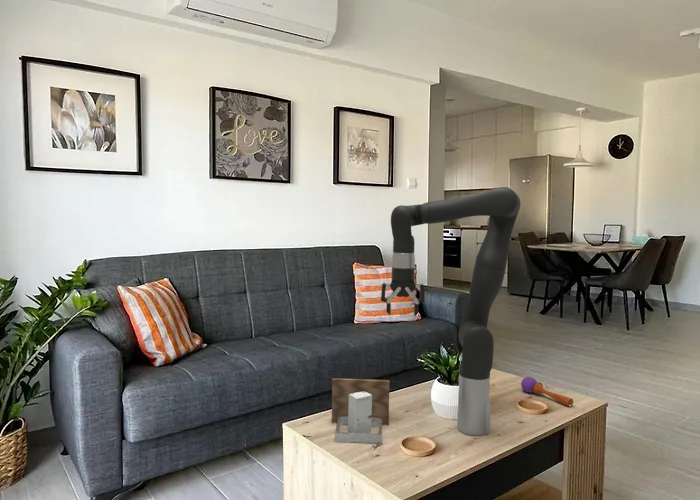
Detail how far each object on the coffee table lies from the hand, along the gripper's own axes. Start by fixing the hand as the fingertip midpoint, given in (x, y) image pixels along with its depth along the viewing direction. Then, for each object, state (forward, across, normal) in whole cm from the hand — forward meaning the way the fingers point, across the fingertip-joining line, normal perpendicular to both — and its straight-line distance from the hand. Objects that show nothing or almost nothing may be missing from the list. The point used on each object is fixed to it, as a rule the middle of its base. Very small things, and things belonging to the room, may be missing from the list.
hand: (402, 314), depth 166 cm
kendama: (+34, -54, -18) cm, 66 cm away
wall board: (+33, +13, +9) cm, 37 cm away
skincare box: (+33, +13, +18) cm, 40 cm away
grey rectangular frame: (+33, +13, +18) cm, 40 cm away
